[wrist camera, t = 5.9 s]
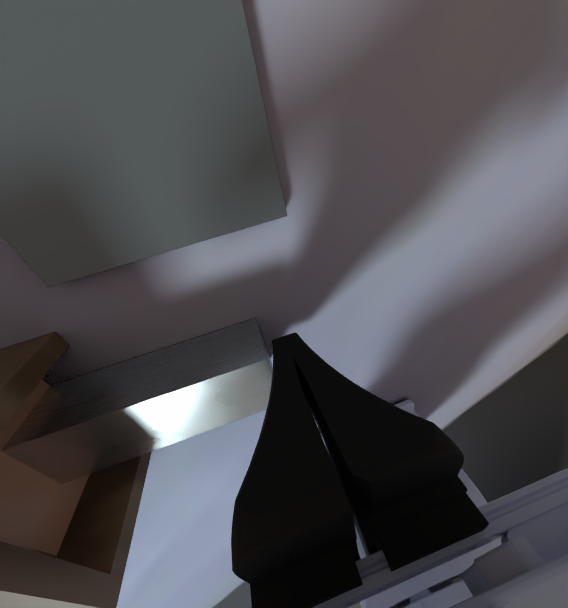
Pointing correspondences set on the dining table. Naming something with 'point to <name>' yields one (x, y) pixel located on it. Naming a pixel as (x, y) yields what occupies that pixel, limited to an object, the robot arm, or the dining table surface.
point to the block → (33, 494)
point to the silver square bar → (145, 403)
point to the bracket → (86, 519)
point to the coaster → (128, 131)
